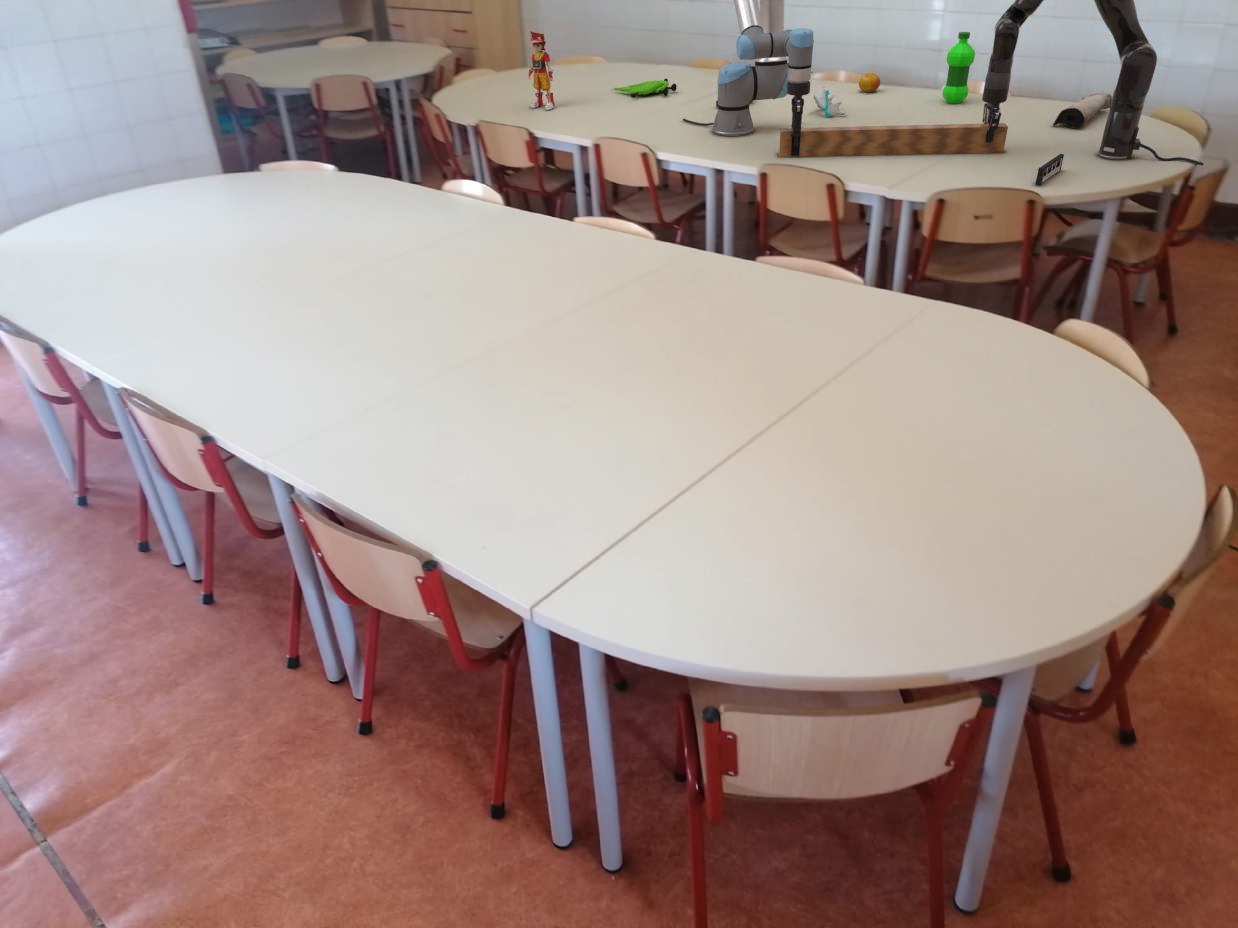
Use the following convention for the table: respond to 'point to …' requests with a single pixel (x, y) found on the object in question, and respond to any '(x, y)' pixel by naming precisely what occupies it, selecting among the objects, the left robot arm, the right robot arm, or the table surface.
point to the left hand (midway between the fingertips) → (794, 153)
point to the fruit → (869, 82)
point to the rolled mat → (1083, 110)
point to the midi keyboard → (1049, 169)
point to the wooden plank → (894, 140)
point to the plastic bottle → (958, 69)
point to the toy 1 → (541, 71)
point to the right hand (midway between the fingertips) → (987, 139)
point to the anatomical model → (827, 103)
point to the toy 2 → (648, 88)
